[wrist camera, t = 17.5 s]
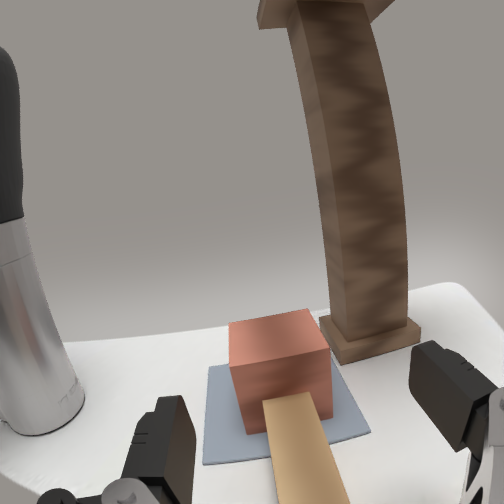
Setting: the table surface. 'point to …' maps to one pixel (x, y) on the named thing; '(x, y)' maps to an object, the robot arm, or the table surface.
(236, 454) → the pad
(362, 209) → the wooden pedestal column
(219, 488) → the table surface
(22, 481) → the table surface
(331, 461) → the mallet
